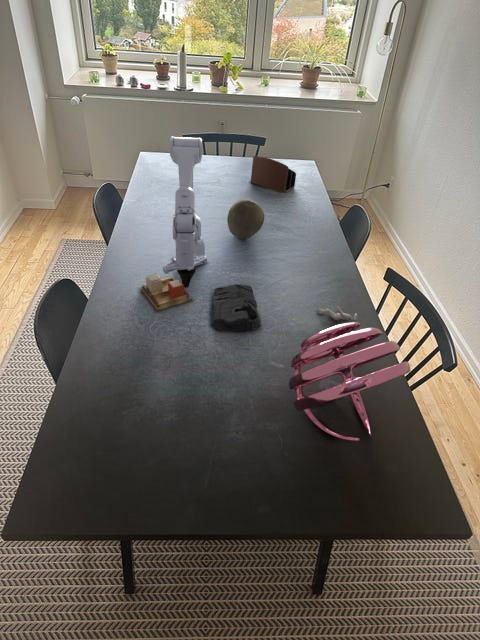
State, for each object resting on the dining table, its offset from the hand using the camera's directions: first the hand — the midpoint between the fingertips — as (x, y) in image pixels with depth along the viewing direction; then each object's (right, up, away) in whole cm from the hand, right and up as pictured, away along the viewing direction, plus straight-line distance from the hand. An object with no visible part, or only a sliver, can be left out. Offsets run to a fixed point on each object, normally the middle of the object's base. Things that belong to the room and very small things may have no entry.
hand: (185, 285), depth 147 cm
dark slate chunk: (+16, -8, -2) cm, 18 cm away
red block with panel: (-3, -4, +1) cm, 5 cm away
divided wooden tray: (-7, -3, +2) cm, 7 cm away
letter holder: (+34, +55, +76) cm, 100 cm away
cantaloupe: (+19, +23, +35) cm, 46 cm away
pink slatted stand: (+42, -34, -31) cm, 62 cm away
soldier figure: (+48, -11, -2) cm, 50 cm away
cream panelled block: (-10, -2, +2) cm, 11 cm away
